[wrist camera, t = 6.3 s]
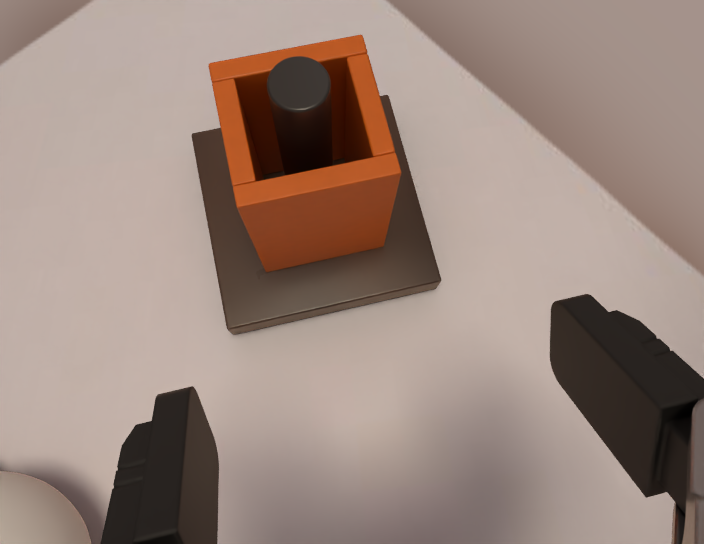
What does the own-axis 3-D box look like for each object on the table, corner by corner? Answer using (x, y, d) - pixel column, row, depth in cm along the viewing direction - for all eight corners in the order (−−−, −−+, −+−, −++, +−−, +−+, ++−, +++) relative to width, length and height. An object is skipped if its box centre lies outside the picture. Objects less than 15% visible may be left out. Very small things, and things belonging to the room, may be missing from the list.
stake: (386, 109, 31) (412, -72, 20) (436, 288, 28) (499, 195, 17) (198, 147, 30) (115, -20, 19) (232, 335, 27) (161, 268, 16)
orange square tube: (356, 141, 29) (362, 33, 21) (384, 246, 27) (401, 173, 20) (243, 164, 28) (207, 62, 21) (266, 272, 27) (236, 207, 19)
